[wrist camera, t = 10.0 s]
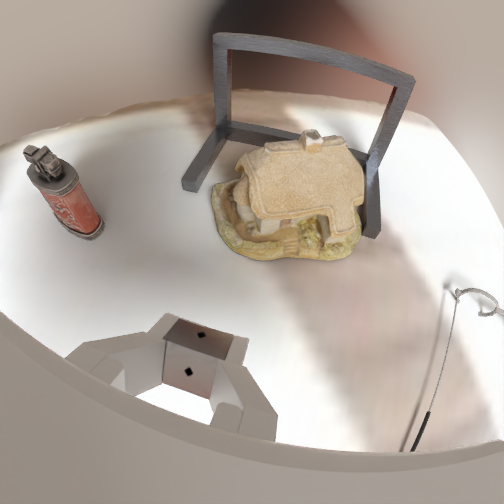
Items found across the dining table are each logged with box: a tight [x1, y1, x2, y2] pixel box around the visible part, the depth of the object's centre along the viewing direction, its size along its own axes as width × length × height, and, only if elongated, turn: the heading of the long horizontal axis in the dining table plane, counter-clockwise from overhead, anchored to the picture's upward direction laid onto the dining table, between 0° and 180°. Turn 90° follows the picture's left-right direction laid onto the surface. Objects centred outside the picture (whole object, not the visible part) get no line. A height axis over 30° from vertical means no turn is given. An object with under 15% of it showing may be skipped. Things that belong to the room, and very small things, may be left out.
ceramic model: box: [211, 130, 364, 261], centre depth 22 cm, size 14×11×10 cm
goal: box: [182, 32, 416, 239], centre depth 23 cm, size 20×11×14 cm, turn 74°
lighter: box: [23, 145, 105, 241], centre depth 21 cm, size 8×3×10 cm, turn 64°
